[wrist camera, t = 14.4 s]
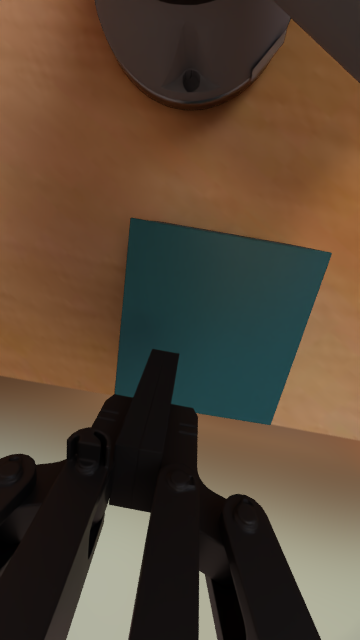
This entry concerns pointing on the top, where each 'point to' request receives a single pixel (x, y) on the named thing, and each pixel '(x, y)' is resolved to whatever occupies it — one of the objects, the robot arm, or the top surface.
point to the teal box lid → (216, 315)
